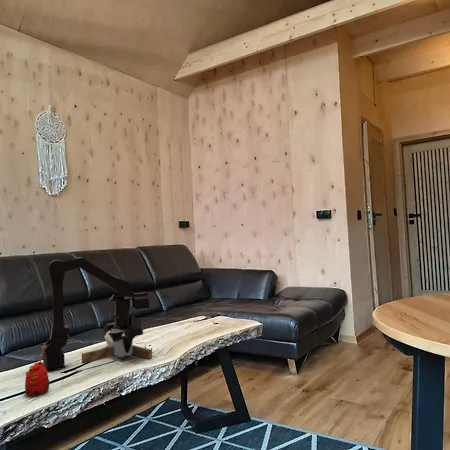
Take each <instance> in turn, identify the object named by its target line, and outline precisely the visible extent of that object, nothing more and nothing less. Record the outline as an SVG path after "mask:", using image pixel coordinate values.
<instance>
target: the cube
mask: <svg viewBox="0 0 450 450" xmlns="http://www.w3.org/2000/svg"><path fill="white" fill-rule="evenodd" d="M132 345H133V342H132V343H131V347H130V350H129V352H128V353H126V351H125V348H124V344H123V341H122V340H119V341H115V342H114V355H113V356H117V357H118V356H121V357H123V356H126V355H130V354H133V346H132ZM130 356H131V355H130Z"/></svg>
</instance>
